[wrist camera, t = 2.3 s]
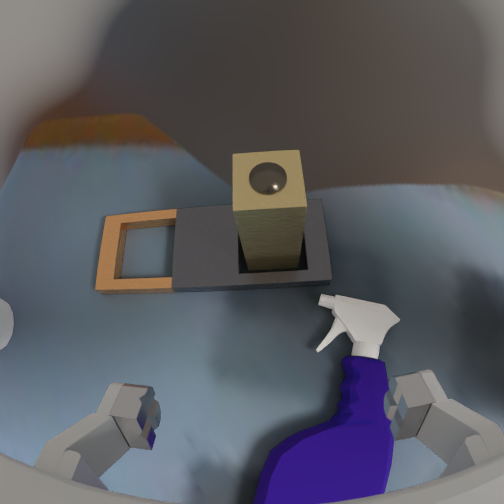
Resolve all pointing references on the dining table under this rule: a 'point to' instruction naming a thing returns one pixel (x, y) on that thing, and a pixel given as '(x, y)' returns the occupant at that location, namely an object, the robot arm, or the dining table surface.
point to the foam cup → (5, 323)
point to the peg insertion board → (207, 253)
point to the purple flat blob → (340, 422)
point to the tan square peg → (269, 208)
